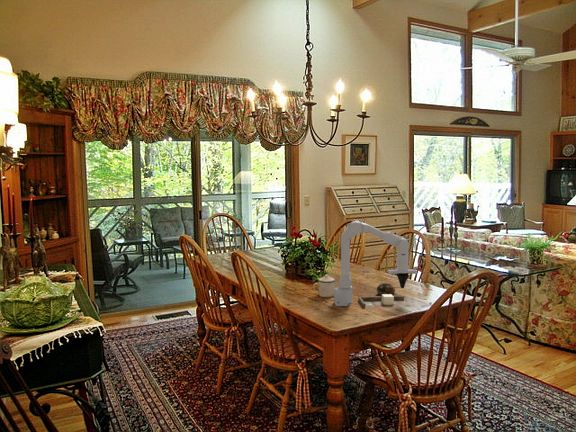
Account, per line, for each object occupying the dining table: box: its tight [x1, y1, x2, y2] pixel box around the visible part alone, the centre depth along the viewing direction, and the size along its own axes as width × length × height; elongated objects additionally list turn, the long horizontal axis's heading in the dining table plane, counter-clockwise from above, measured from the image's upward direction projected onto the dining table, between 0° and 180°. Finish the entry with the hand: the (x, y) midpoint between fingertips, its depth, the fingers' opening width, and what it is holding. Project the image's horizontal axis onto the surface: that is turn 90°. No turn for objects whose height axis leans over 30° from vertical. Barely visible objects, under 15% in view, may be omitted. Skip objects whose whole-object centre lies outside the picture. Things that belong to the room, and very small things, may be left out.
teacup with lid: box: [313, 274, 336, 298], centre depth 269 cm, size 12×9×12 cm
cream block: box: [382, 294, 395, 306], centre depth 248 cm, size 5×5×4 cm
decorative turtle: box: [376, 282, 396, 296], centre depth 264 cm, size 10×15×8 cm, turn 16°
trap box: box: [357, 295, 411, 309], centre depth 247 cm, size 24×13×4 cm, turn 93°
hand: (402, 287), depth 247 cm, fingers closed
